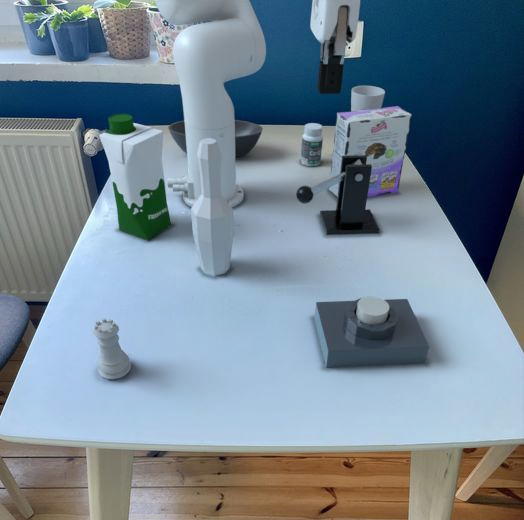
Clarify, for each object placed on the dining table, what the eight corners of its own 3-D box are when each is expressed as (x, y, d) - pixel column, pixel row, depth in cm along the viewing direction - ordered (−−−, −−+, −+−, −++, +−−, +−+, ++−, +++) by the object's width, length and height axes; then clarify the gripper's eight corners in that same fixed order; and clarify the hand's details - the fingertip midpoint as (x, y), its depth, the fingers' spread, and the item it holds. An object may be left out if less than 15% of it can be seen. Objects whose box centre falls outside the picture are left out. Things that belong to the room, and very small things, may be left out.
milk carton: (143, 212, 107) (127, 107, 94) (179, 224, 104) (168, 117, 90) (112, 231, 102) (91, 122, 88) (148, 244, 98) (132, 133, 85)
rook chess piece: (100, 359, 75) (89, 314, 70) (133, 358, 76) (124, 313, 70) (96, 382, 72) (83, 336, 67) (130, 380, 72) (120, 335, 67)
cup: (376, 148, 134) (384, 97, 126) (344, 145, 135) (350, 94, 127) (377, 136, 140) (385, 87, 132) (347, 133, 141) (352, 84, 133)
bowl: (261, 165, 125) (261, 138, 121) (166, 163, 125) (164, 136, 121) (263, 145, 134) (263, 120, 130) (175, 143, 134) (172, 117, 130)
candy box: (385, 182, 119) (398, 104, 108) (398, 194, 115) (413, 114, 104) (327, 190, 116) (335, 110, 105) (339, 202, 112) (348, 121, 101)
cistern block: (326, 368, 75) (329, 340, 71) (314, 318, 83) (316, 292, 79) (424, 363, 76) (432, 336, 72) (403, 315, 84) (409, 288, 80)
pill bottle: (307, 168, 124) (310, 131, 119) (296, 160, 127) (298, 124, 122) (324, 164, 126) (328, 127, 120) (313, 157, 129) (316, 121, 124)
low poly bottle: (217, 255, 96) (210, 129, 81) (241, 269, 93) (239, 141, 78) (189, 269, 93) (177, 140, 78) (213, 284, 89) (205, 153, 74)
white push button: (359, 325, 74) (361, 315, 73) (353, 306, 78) (354, 296, 76) (390, 324, 75) (393, 314, 73) (383, 305, 78) (385, 295, 77)
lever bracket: (326, 236, 101) (333, 170, 93) (319, 216, 107) (325, 152, 99) (378, 235, 102) (390, 169, 94) (368, 214, 108) (379, 151, 99)
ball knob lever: (301, 209, 100) (294, 195, 98) (299, 201, 102) (292, 187, 100) (367, 178, 97) (362, 163, 95) (363, 171, 99) (358, 155, 97)
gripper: (305, -70, 72) (297, 77, 85) (323, -59, 61) (311, 109, 74) (360, -70, 73) (344, 77, 85) (387, -58, 62) (365, 108, 74)
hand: (328, 91), depth 79 cm, fingers closed
